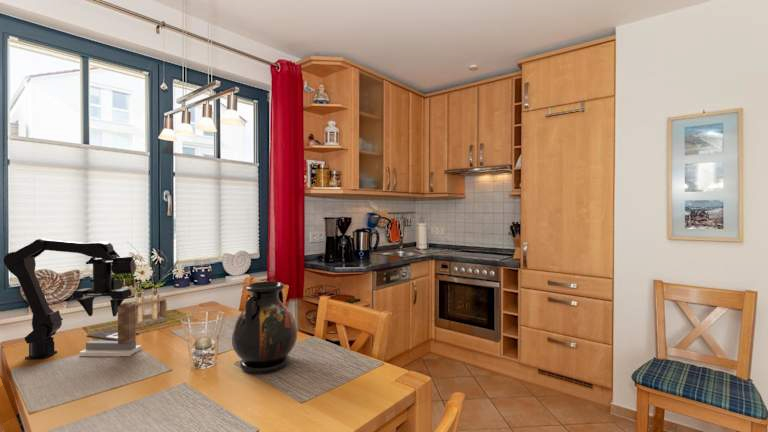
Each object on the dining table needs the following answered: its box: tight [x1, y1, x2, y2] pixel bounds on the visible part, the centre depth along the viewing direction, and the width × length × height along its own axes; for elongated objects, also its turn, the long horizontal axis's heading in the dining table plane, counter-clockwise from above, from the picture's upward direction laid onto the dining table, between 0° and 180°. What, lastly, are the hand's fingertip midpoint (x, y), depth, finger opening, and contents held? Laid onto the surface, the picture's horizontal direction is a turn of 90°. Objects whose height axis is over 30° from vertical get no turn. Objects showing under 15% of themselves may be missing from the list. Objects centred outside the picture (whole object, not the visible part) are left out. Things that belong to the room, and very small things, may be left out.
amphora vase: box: [231, 281, 298, 375], centre depth 129 cm, size 22×22×28 cm
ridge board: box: [79, 340, 142, 357], centre depth 139 cm, size 18×7×4 cm, turn 89°
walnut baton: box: [117, 302, 137, 344], centre depth 139 cm, size 4×4×14 cm
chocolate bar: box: [86, 328, 140, 341], centre depth 158 cm, size 9×1×18 cm
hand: (102, 316), depth 142 cm, fingers open, 9 cm apart
